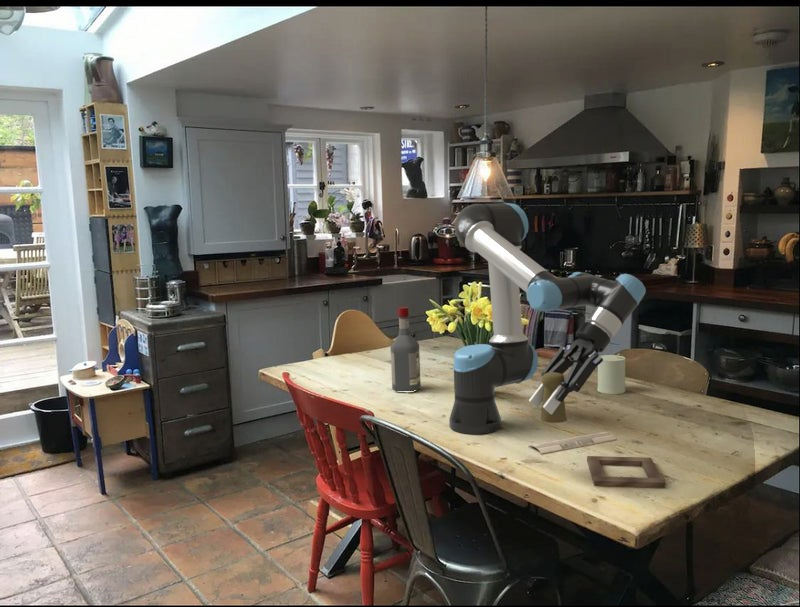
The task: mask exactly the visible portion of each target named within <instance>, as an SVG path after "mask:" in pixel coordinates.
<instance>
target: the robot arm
mask: <svg viewBox="0 0 800 607" xmlns="http://www.w3.org/2000/svg"><path fill="white" fill-rule="evenodd" d="M454 232H455V236H456V238H457V240H458V241H459V243H460V244H461V245H462V246H464V247H465V248H466V250H468V251H469V252H471V253H477V254H479V255H480V256H481V257H482V258H483V259H485V260H486V261H487V263H488V265H487V266H488V275H489V288H490V289H489V290H490V300H491V303H490V304H491V315H492V316H491V318H492V329H493V335H492V336H491V337H490V339H489V340H488V342H489V344H485V343H478V344H471V345H466V346H463V347H461V348H459V349H457V350H456V351H455V353H454V355H453V363H452V364H453V365H452V368H453V385H454V389H453V390H454V392H453V393H454V402H453V405H452V409H451V411H450V416H449V423H448V424H449V428H450V429H451V430H453V431H455V432H457V433H461V434H462V433H463V434H466V435H468V434H469V435H470V434H471V435H481V434H482V435H483V434H489V433H492V432H493V433H494V432H496V431H498V430H500V429H501V427H502V416H501V414H500V412H499V409H498V406H497V402H496V398H495V395H496V394H495V388H499V387H504V386H510V385H514V384H517V385H518V384H520V383H522V382H525V381H528V380H530V379H531V378H532V377H533V376H534V375H535V374H536V372H537V370H538V364H539V358H538V357H539V356H538V353H537V350H535V346H534V345H532V344H531V343H530V342H529V337H528V336H526V335H525V334H524V332H523V322H522V310H521V309H522V307H521V306H522V304H521V293H520V289H521V290H523V291H524V292H525V293H526V300H527V302H528V303H529V306H530V307H531V309H532V310H534V311H537V312H554V311H557V310H562V309H564V310H565V309H569V308H577V307H584V306H589V307H593V310H592V311H591V312H590V313H589V314H588V316H587V317H586V318H585V322H582V323H581V325H580V326H579V327H578V329H577V330H576V332H575V336H576V339H575V340H574V341H572V342H571V343H570V344H567V345H566V343H564V342H563V343H562V344H560V347H559V349H558V350H557V352H556V353H555V354H554V356H553V357H552V359H551V360H550V361H549V362H548V364H547V365H546V366H545V368H544V369H543V370H542V371H541V373H540V375H541V376H542V377H543V375H544V374H545V373H549V372H556V373H560V374H562V375H564V373H565V372H567V371H568V370H569V372H568V373H567V375H566V377H565V378H564V379H565V381H564V382H561V384H562V385H563V387H562V386H561V385H559V386H558V387H557V388H556V390H555V391H554V392H553V394H552V395H551V396H550V398H549V399H548V400H547V402H546V403H545V404H544V406H543V408H544V409H545V410H546V411H548V412H549V413H550V414H553V412H554V411H555V410H556V408H557V407H558V405H559V404H560V403H561V402H562V401H563V400H564V401H565V399H566V397H567V396H568V395H569V394H570V393H573V392H576V393H578V392H580V390H581V389H582V388H583V386H584V385H585V384H586V383H587V380H588V379H589V378H590V376H591V375H592V374H593V373H594V371H595V370H596V369H597V368H598V365H599V364H600V363H601V362H602V361H603V359H602V357H601V356H602V355H600V354H599V353H602V352H604V351H605V349H606V348H607V347H608V345H609V343H611V339H614V336H615V335H616V334H617V333H618V331H619V330H620V329H621V328H622V327H623V324H625V321H626V320H627V319H628V318H629V317H630V315H631V314H633V312H634V311H635V309H636V308H637V307H638V306H639V304H640V302H642V299H643V298H644V296H645V295H646V290H647V289H646V287H645V285H644V284H643V282H642V281H641V280H639V279H638V278H637V277H636V276H634V275H632V274H629V273H621V274H619V275H618V277H616V278H615V280H611V279H606V278H603V277H600V276H597V275H596V276H595V275H593V274H592V273H591V274H590V273H587V272H581V271H575V272H572V273H571V274H570V275H569V276H567V277H561V278H559V277H556V276H555V275H553V274H552V273H550V272H549V270H547V269H546V268H544V267H543V266H542V265H540V264H539V263H538V262H536V261H535V260H533V259H532V258H531V257H530V256H528V255H527V254H526V253H524V252H523V251H522V250H521V249H522V241H523V240H524V239H525V238H526V237H527V234H528V232H529V219H528V217H527V215H526V212H525V211H524V209H522V208H521V207H520V206H519V205H518V204H515V203H509V202H497V203H495V202H494V203H474V204H470V205H468V206H466V207H464V208H463V209H461V211H460V212H459V213H458V214H457V216H456V219H455V222H454ZM543 395H544V386H543V384H542V382H540V384H539V385H538V386H537V388H536V390H535V392H534V393H533V394H532V396H530V398H529V399H528V401H529V402H530V404H532V406H534V408H536V409H538V408H539V406H540V405H542V403H543Z"/></svg>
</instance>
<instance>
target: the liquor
mask: <svg viewBox="0 0 800 607" xmlns="http://www.w3.org/2000/svg"><path fill="white" fill-rule="evenodd" d="M397 311H398V324H399V328H398V329H399V331H398V335H397V336H396V338H395V339H394V340H393V342H392V343H391V345H390V364H391V367H390V368H391V386H392V388H391V389H392V391H393V390H395V391H414V390H417V389H418V388H419V387H420V388H421V386H422V385H421V356H420V343H419V342H418V341H417V340H416V338H414V337H413V335H412V334H411V332H410V322H409V317H410V314H409V307H408V306H401V307H399V306H398V310H397Z"/></svg>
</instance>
